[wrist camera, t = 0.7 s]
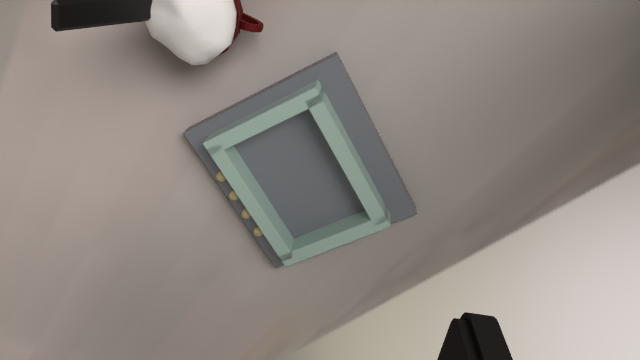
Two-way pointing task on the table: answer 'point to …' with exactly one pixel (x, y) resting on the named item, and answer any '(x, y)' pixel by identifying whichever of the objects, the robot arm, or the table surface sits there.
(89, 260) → the table surface
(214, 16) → the cocoa
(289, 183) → the holder board
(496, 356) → the robot arm
